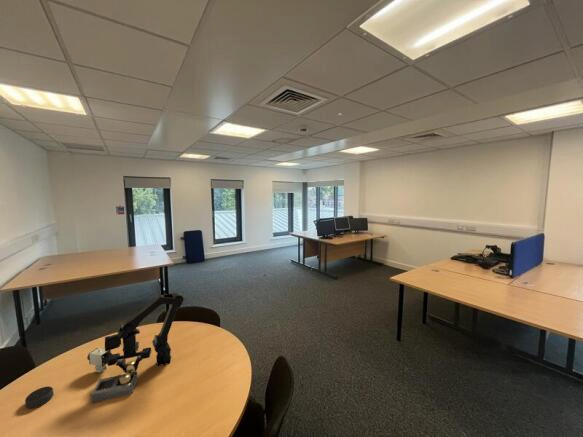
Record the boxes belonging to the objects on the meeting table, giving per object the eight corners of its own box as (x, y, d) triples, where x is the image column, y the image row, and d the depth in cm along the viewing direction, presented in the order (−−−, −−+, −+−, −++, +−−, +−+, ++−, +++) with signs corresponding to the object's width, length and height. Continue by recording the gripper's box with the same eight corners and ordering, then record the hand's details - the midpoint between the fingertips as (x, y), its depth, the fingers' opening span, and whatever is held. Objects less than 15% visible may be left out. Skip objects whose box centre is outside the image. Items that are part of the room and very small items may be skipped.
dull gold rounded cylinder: (132, 383, 121) (131, 372, 120) (129, 389, 117) (129, 378, 116) (121, 385, 119) (121, 374, 119) (119, 392, 115) (118, 380, 115)
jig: (137, 378, 124) (137, 371, 124) (132, 393, 115) (131, 385, 114) (100, 387, 118) (99, 379, 118) (91, 403, 109) (90, 395, 109)
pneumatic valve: (105, 375, 126) (104, 353, 125) (87, 372, 129) (86, 351, 128) (115, 368, 132) (114, 347, 131) (98, 365, 134) (96, 344, 133)
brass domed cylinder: (137, 370, 130) (136, 359, 130) (135, 375, 126) (134, 365, 125) (127, 372, 129) (127, 361, 128) (125, 377, 124) (124, 367, 124)
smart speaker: (31, 398, 112) (30, 390, 112) (56, 390, 117) (55, 382, 116) (21, 412, 105) (20, 404, 104) (49, 404, 109) (48, 395, 109)
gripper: (152, 331, 137) (154, 357, 138) (113, 338, 130) (115, 365, 131) (148, 342, 126) (150, 370, 127) (106, 350, 120) (108, 380, 121)
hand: (131, 371), depth 127 cm, fingers closed on brass domed cylinder, 4 cm apart
